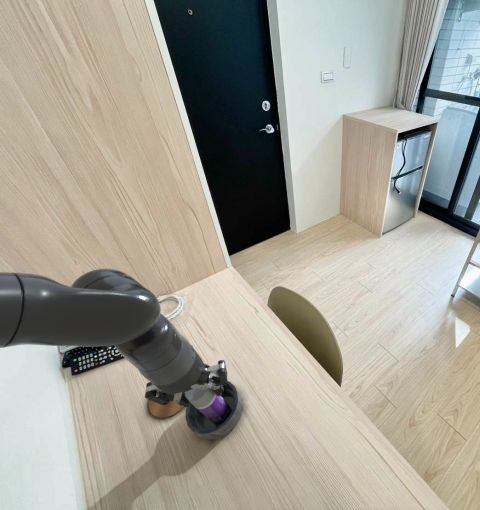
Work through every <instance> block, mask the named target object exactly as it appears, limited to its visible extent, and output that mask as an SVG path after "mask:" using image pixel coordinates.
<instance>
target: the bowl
mask: <svg viewBox="0 0 480 510" xmlns="http://www.w3.org/2000/svg"><path fill="white" fill-rule="evenodd" d="M212 382H213V380H212ZM223 387H224V392H222V395H221V396H222V398H223V399H224V400H225V401H226V403H227V404H228V406H229V412H228V415H227V416H226V418H225V419H224V420H222V421H221V422H218V423H214V422H211V421H210V420H209V419H208V418H207V417H206V416H205V415H203V414H202V413H201V412H200V411H199V410H198V409H197V408H196V407H195V406H194V405H193V404H192V403H191V402H190V405H189V406H188V407H185V415H184V419H185V422H186V425H187V427H188V428H189V429H190V430H191V431H192V432H193V433H194V434H196V435H197V436H198V437H200V438H202V439H205V440H207V441H208V440H209V441H210V440H217V439H220V438H223V437H225V436H226V435H228V434H229V433H231V432H232V431H233V430H234V428H235V427H236V426H237V425H238V423H239V421H240V420H241V417H242V415H243V412H244V400H243V397H242V394H241V393H240V392H239V390H238V389H237V387H236V386H235V385H234V384H233V383H232V382H231V381H229V380H228V384H227V385H224V386H223Z"/></svg>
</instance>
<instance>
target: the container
mask: <svg viewBox="0 0 480 510" xmlns="http://www.w3.org/2000/svg"><path fill="white" fill-rule="evenodd" d="M185 397H186V398H187V399H188V400H189V401H190V402H191V403H192V404H193V405H194V406H195V407H196V408H197V409H198V410H199V411H200V412H201V413H202V414H203V415H205V416H206V417H207V418H208V419H209V420H210V421H211V422H214V423H218V422H221V421H222V420H224V419H225V418H226V416H227V415H228V412H229V406H228V404H227V403H226V401H225V400H224V399H223V398H222V396H221V395H220V396H217V395H216V394H215V392H214V391H213V389H207V390H203V389H199V388H196V389H191V390H189V391H186V392H185Z"/></svg>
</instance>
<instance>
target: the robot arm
mask: <svg viewBox="0 0 480 510" xmlns="http://www.w3.org/2000/svg"><path fill="white" fill-rule="evenodd" d="M27 345H29V346H47V347H110V346H114V347H115V348H116V350H117V351H118V352H119V354H121V356H122V357H123V358H124V359H125V360H126V361H127V362H129V363H130V364H131V365H132V366H134V368H136V369H137V370H138V372H139V373H140V375H142V377H144V378H145V379H146V380H147V381H148V382H147V383H146V385H145V391H144V399H146V400H148V401H149V400H151V401H153V402H156V403H158V404H160V405H167V404H169V402H171V401H173V403H178V404H179V405H180V406H184V408H187V407H188V406H189V405H190V401H189V400H188V399H187V398H186V397H185V392H186V391H189V390H191V389H196V388H199V389H203V390H207V389H213V391H214V392H215V394H216V395H217V396H220V395H222V392H224V387H223V386H224V385H227V384H228V381H229V380H228V370H227V366H226V365H227V364H226V361H225V359H220V360H218V361H217V364H215V365H209V364H208V363H205V362H204V361H203V358H202V357H201V356H200V354H199V353H198V352H197V350H196V349H195V347H194V346H193V345H192V344H191V343H190V341H189V340H188V339H187V338H186V337H185V336H184V335H183V334H181V333H180V332H179V330H178V329H177V328H176V326H175V325H174V324H173V322H172V321H170V320H169V319H168V318H167V317H166V316H165V315H163V314H162V307H161V303H160V300H159V299H158V297H157V296H156V295H155V294H154V293H153V292H152V291H151V290H149V289H148V288H147V287H146V286H144V285H143V284H141V283H140V282H139V281H137V280H136V279H135V278H133V277H132V276H131V275H129V274H128V273H126V272H124V271H122V270H119V269H115V268H97V269H94V270H89V271H87V272H85V273H83V274H81V275H79V277H78V278H77V279H75V280H74V281H73V283H72V284H71V285H70V286H69V285H66V284H63V283H60V282H59V281H56V280H55V279H52V278H51V277H48V276H46V275H42V274H37V273H26V272H9V271H8V272H6V271H0V349H3V348H12V347H16V346H27ZM212 381H213V382H212Z"/></svg>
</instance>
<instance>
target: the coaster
mask: <svg viewBox="0 0 480 510" xmlns="http://www.w3.org/2000/svg"><path fill="white" fill-rule="evenodd" d="M184 408H185V407H184V406H180V405H179V404H178V403H173V401H171V402H169V404H167V405H160V404H158V403H156V402H153V401H151V400H149V399H148V410H149V412H150V413H151V414H152V415H153V416H154V417H156V418H159V419H160V418H161V419H162V418H163V419H164V418H169V417H173V416H174V415H176V414H177V413H180V411H182V410H183V409H184Z"/></svg>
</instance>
